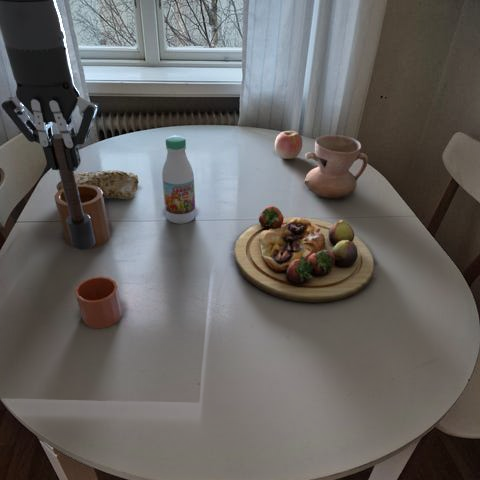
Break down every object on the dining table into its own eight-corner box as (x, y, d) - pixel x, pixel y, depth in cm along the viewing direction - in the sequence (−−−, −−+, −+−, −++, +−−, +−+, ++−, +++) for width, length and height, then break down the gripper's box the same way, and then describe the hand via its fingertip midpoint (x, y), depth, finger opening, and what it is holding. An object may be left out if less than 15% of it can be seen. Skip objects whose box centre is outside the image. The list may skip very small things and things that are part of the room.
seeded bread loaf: (139, 190, 124) (68, 174, 121) (140, 168, 118) (65, 150, 115) (129, 221, 116) (53, 204, 113) (130, 198, 110) (49, 179, 107)
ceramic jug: (304, 203, 119) (312, 153, 110) (296, 180, 130) (302, 132, 120) (367, 203, 121) (380, 153, 111) (354, 180, 131) (365, 133, 121)
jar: (60, 248, 100) (48, 205, 92) (73, 225, 107) (62, 183, 100) (105, 249, 100) (95, 206, 92) (114, 226, 107) (106, 185, 100)
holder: (78, 330, 80) (69, 301, 76) (89, 303, 86) (81, 275, 81) (118, 331, 81) (112, 302, 76) (126, 304, 86) (120, 276, 81)
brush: (69, 249, 76) (39, 140, 63) (75, 236, 79) (48, 130, 66) (92, 250, 76) (67, 142, 63) (97, 237, 79) (75, 132, 66)
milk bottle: (159, 216, 112) (151, 138, 98) (182, 206, 116) (177, 130, 102) (178, 227, 108) (172, 148, 94) (201, 217, 112) (199, 139, 98)
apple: (304, 161, 140) (307, 136, 135) (278, 163, 139) (280, 138, 133) (294, 151, 147) (297, 126, 141) (270, 152, 145) (272, 128, 139)
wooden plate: (216, 234, 106) (216, 204, 101) (330, 216, 115) (336, 187, 109) (263, 319, 84) (266, 286, 79) (400, 289, 93) (412, 257, 87)
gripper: (-33, 43, 53) (12, 177, 65) (80, 49, 54) (104, 181, 65) (-7, 31, 59) (30, 156, 71) (95, 37, 59) (115, 160, 71)
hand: (65, 168), depth 68 cm, fingers closed on brush, 2 cm apart
